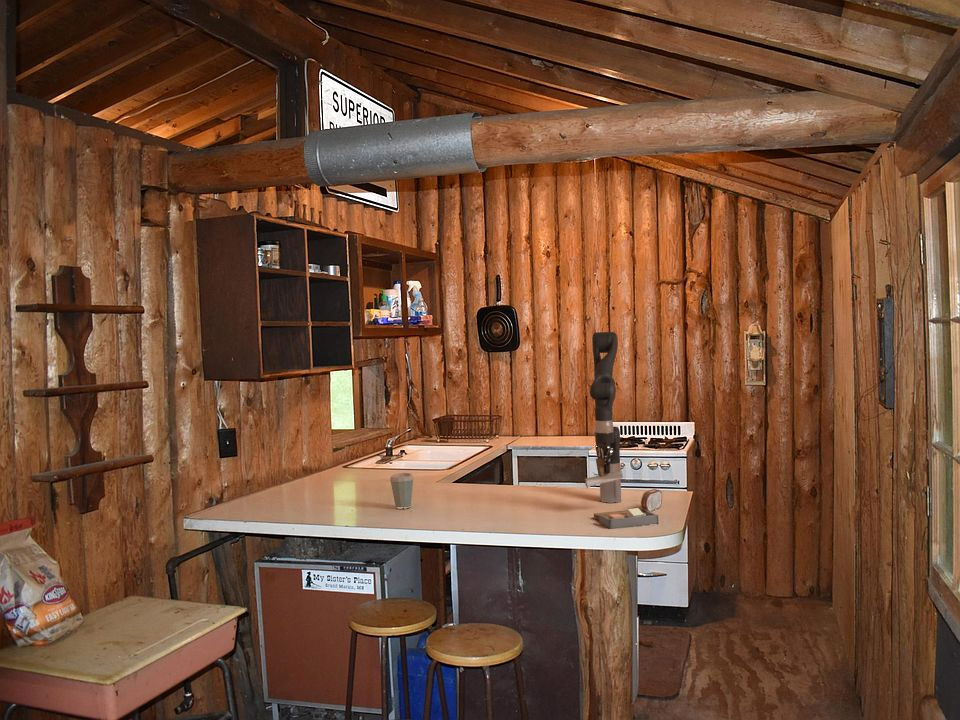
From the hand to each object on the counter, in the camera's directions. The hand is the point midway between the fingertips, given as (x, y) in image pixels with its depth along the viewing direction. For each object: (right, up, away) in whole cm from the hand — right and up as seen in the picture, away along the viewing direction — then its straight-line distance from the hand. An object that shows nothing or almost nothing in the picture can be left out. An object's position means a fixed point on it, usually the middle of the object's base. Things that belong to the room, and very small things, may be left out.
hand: (605, 472), depth 317 cm
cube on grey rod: (0, -4, 0) cm, 4 cm away
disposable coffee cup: (-86, -19, +23) cm, 91 cm away
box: (+6, -17, -21) cm, 27 cm away
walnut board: (+3, -17, -11) cm, 21 cm away
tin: (+20, -17, +3) cm, 26 cm away
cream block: (+9, -15, -17) cm, 25 cm away
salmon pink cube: (+1, -17, -20) cm, 26 cm away
